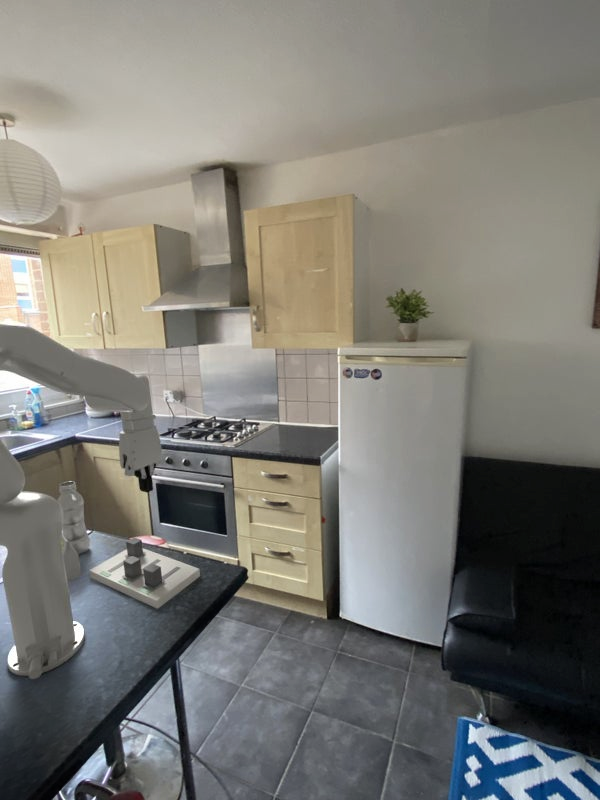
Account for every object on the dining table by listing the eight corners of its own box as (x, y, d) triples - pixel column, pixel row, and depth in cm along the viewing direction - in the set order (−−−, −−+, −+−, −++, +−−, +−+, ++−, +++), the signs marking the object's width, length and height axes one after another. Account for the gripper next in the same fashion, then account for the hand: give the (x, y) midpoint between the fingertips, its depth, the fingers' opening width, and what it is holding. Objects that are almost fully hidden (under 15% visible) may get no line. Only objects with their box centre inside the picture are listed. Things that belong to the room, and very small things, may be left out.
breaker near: (165, 581, 94) (163, 565, 93) (152, 590, 91) (150, 574, 90) (154, 577, 96) (152, 561, 95) (141, 585, 93) (140, 569, 92)
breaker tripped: (145, 553, 106) (144, 539, 105) (134, 560, 103) (132, 545, 102) (136, 549, 108) (135, 535, 107) (124, 556, 105) (123, 542, 104)
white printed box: (74, 565, 106) (69, 529, 104) (81, 576, 101) (76, 539, 99) (58, 571, 104) (52, 534, 102) (64, 582, 99) (59, 545, 97)
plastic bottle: (96, 548, 113) (87, 480, 110) (74, 561, 107) (63, 490, 104) (80, 544, 116) (71, 477, 112) (58, 556, 110) (47, 486, 106)
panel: (200, 576, 99) (199, 568, 99) (157, 608, 88) (156, 600, 88) (134, 551, 111) (134, 544, 111) (90, 577, 100) (89, 569, 100)
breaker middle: (144, 573, 97) (143, 557, 97) (132, 581, 94) (130, 565, 94) (134, 569, 99) (133, 554, 98) (122, 577, 96) (120, 561, 95)
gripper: (151, 415, 112) (159, 478, 116) (102, 429, 99) (112, 499, 103) (171, 417, 108) (178, 482, 112) (122, 433, 95) (132, 505, 99)
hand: (146, 490), depth 107 cm, fingers closed
